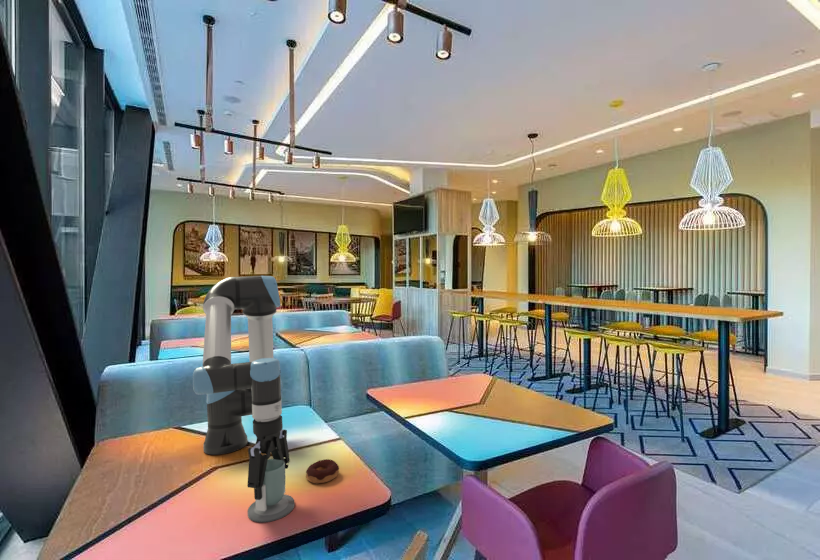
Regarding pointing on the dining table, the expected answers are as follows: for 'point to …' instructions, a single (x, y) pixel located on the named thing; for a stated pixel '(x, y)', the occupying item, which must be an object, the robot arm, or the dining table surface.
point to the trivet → (272, 510)
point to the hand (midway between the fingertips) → (271, 500)
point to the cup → (274, 481)
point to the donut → (322, 471)
